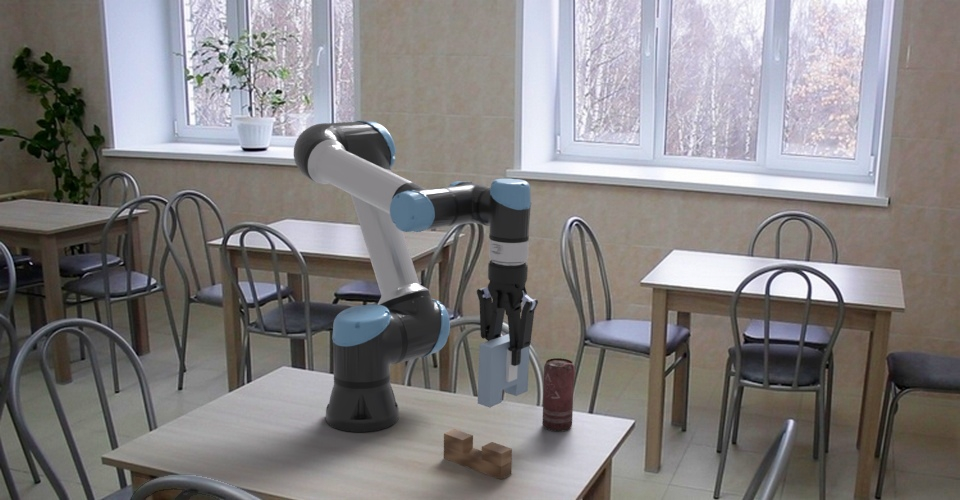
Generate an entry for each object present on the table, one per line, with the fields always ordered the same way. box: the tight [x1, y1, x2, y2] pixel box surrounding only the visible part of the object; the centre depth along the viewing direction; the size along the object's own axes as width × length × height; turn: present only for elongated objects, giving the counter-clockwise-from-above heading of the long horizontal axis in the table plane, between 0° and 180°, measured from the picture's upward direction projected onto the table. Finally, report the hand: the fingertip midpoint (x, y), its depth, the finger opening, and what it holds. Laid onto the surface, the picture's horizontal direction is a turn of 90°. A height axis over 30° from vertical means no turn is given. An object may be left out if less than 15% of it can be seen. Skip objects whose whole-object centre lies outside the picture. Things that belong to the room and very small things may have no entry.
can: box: [542, 357, 576, 432], centre depth 201 cm, size 6×6×14 cm
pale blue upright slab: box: [477, 333, 531, 408], centre depth 191 cm, size 3×12×12 cm, turn 140°
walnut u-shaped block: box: [443, 428, 513, 480], centre depth 183 cm, size 14×3×5 cm, turn 50°
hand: (503, 377), depth 192 cm, fingers closed on pale blue upright slab, 3 cm apart
